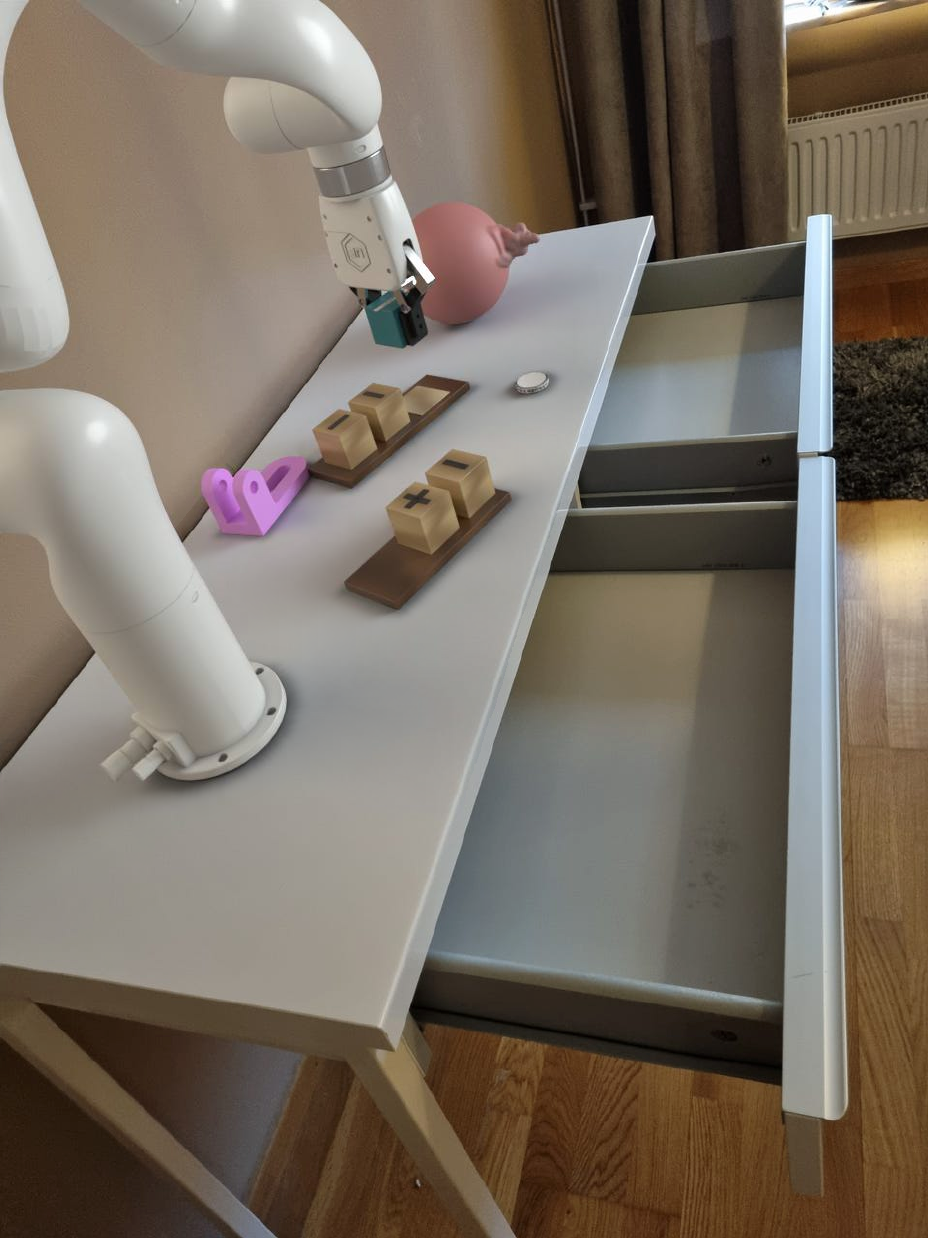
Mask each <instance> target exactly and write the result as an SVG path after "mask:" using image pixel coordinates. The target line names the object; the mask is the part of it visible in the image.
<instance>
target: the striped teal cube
mask: <svg viewBox="0 0 928 1238" xmlns="http://www.w3.org/2000/svg"><path fill="white" fill-rule="evenodd" d="M403 290H404V292H405V295H406V297H407V295H408V293H409V292H406V291H407V289H403ZM363 309H364V312H365V315H366V318H367V321H368V324H369V325H368V326H369V328H370V331H371V333H372V338H373V340H374V343H375V345H377V346H385V347H390V348H391V347H392V348H395V349H402V350H403V349H405V348H406V347H407V346H408V345H407V342H406V339H405V335H404V332H403V329H402V325H401V322H400V318H399V313H400V312H402V311H401V309H400V307H399V304H398V302H397V300H396V298H395V296H394V294H393V292H392V291H385V293H383V294H382V296H381V297H379V298H378V299H376V300H375V301H374V302H372V303H371V304H369V305H368V306H367V307H365V308H363Z"/></svg>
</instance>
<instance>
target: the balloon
mask: <svg viewBox="0 0 928 1238" xmlns="http://www.w3.org/2000/svg"><path fill="white" fill-rule="evenodd" d="M411 221H412V223H413V227H414V230H415V233H416V236H417V239H418V243H419V247H420V250H421V255H422V259H423V264H424V265H425V266H426V267H427V269H428V270H429V271H430V273H431V274H432V275H433V276H434V278H435V283H434V284H433V285H432V286H431V287H430V288H429V289H428V290H427V292H426V294H425V296H424V301H423V302H422V303H421V307H422V311H423V314H424V317H426V318H427V319H430V320H432V321H435V322H438V323H441V324H445V325H446V324H447V325H460V324H466V323H469V322H472V321H474V320H477V319H478V318H480V317H482V316H484V315H485V314H486V313H488V312H489V311H490V310H491V309H492V308H493V307H494V306H495V305H496V303H498V302H499V300H500V298H501V296H502V295H503V293H504V290H505V289H506V287H507V283H508V280H509V274H510V267H511V265H512V263H513V261H514V260H515V259H516V258H518V257H523V256H525V255H526V254H527V253H528V252H529V246H530V245H533V244H538V243H539V242H540V241H541V240H540V239H541V237H540V235H539V234H538V233H535V232H531V230H529V229H528V228H527V225H526V224H525V223H524V222H517V223H516V224H514V225H513V226H512V227H510V228H509V227H506V226H504V225H503V224H502V223H501V224H500V223H496V221H495V220H494V219H493V218H492V217H491V216H490V215H489V214H487V213H486V212H485V211H483V210H482V209H481V208H479V207H477V206H475V205H472V204H469V203H467V202H461V201H443V202H439V203H436V204H433V205H431V206H428V207H427V208H425V209H423V210H422V211H421V212H419V213H418V214H417V215H415V217H413V218H412V219H411ZM403 289H407V291H406V292H409V289H408V287H407V285H406V286H405V287H403Z"/></svg>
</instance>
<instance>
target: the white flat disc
mask: <svg viewBox="0 0 928 1238" xmlns="http://www.w3.org/2000/svg"><path fill="white" fill-rule="evenodd" d="M549 383H550V380H549V376H548V374H547V373H546V372H543V371H531V372H527V373H524V374H522V375H520V376H519V377H518V378H517V379H516V380H515V382H514V385H515V388H516V390H517V391H518V392H519V393H520V394H521V393H522V394H533V393H537V392H540V391H542V390H544V389H545V388H547V386H549Z"/></svg>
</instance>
